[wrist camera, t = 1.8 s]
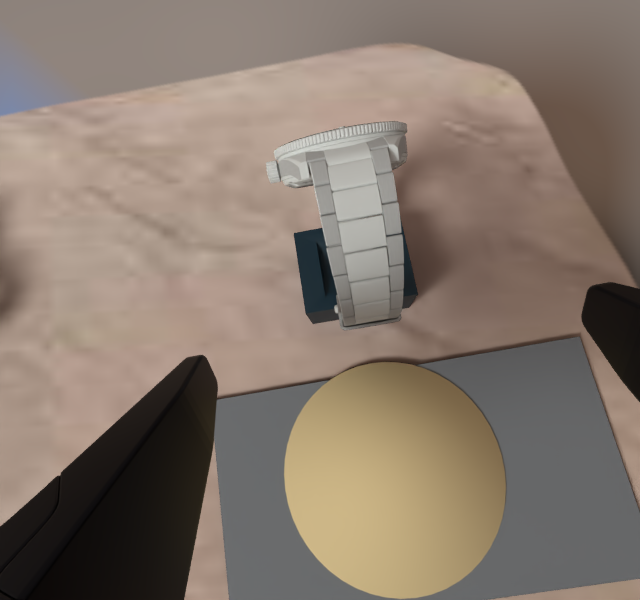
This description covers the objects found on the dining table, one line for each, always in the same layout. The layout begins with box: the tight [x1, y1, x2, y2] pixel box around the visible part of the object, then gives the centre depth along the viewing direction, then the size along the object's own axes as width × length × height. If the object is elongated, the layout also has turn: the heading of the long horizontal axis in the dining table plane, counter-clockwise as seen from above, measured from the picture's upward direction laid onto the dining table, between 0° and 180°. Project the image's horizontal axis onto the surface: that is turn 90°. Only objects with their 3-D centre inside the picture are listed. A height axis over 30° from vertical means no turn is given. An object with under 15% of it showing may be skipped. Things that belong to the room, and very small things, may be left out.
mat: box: [214, 337, 640, 600], centre depth 18 cm, size 12×20×1 cm, turn 100°
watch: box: [266, 121, 418, 330], centre depth 16 cm, size 6×8×11 cm
